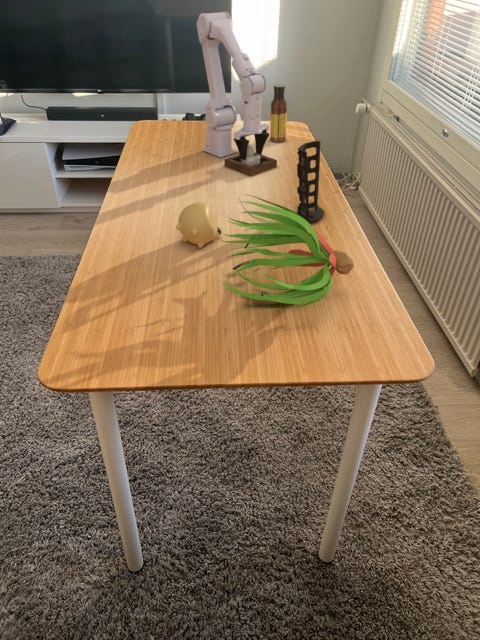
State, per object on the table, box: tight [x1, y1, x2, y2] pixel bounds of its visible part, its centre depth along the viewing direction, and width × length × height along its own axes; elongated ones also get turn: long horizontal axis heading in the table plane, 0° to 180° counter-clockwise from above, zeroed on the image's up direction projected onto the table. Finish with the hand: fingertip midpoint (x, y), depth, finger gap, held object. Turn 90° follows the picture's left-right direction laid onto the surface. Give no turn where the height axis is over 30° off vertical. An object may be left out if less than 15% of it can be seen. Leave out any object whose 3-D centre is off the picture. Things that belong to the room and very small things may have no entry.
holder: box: [296, 140, 325, 225], centre depth 141 cm, size 11×8×20 cm
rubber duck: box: [241, 143, 261, 167], centre depth 175 cm, size 5×7×8 cm
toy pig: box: [175, 202, 222, 249], centre depth 131 cm, size 10×12×11 cm
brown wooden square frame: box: [224, 151, 278, 177], centre depth 176 cm, size 13×13×2 cm
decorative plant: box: [216, 193, 355, 310], centre depth 108 cm, size 26×25×30 cm
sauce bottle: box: [269, 83, 288, 143], centre depth 194 cm, size 7×6×20 cm
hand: (251, 156), depth 175 cm, fingers open, 7 cm apart
